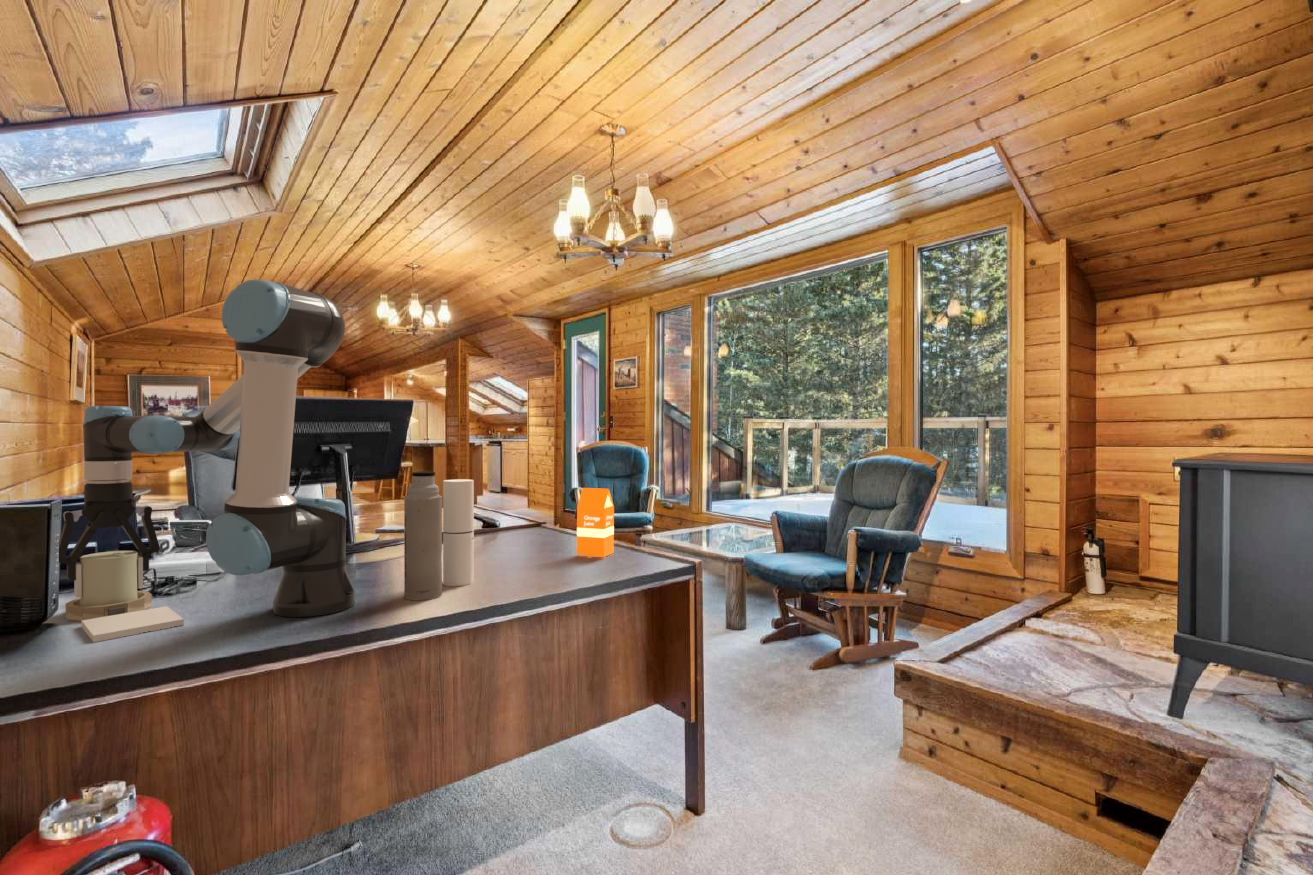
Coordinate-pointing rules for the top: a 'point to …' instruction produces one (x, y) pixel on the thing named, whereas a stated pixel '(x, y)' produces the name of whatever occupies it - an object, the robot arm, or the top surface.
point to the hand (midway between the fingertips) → (109, 591)
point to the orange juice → (595, 523)
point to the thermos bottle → (423, 538)
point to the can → (108, 578)
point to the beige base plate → (130, 623)
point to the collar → (107, 608)
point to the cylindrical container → (458, 532)
